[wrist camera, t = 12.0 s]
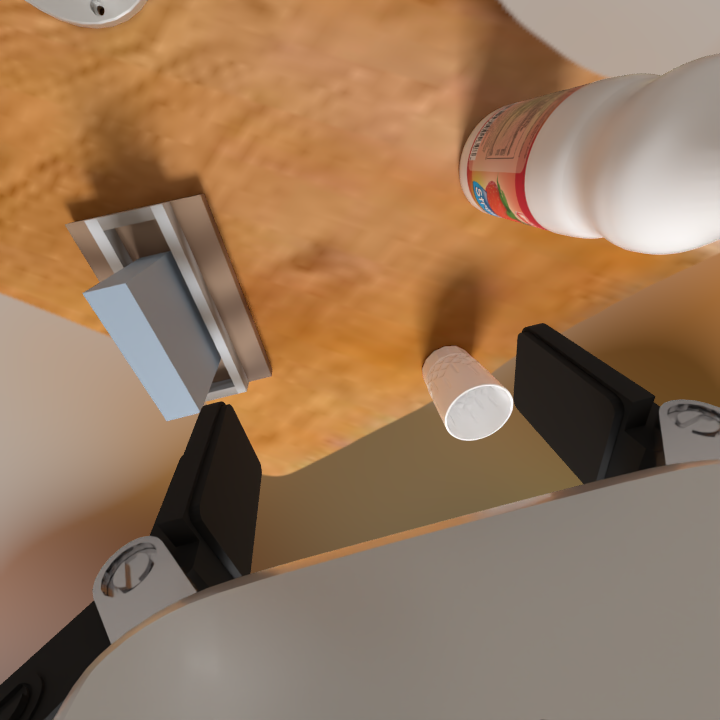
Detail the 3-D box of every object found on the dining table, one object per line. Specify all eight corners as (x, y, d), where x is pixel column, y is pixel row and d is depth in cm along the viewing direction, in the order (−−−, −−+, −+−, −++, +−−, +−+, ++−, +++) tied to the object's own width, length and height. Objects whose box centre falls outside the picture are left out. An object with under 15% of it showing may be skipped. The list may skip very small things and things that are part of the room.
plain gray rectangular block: (139, 258, 32) (82, 293, 24) (170, 250, 32) (125, 283, 24) (195, 363, 38) (166, 421, 30) (221, 356, 38) (200, 412, 30)
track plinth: (74, 221, 31) (50, 228, 28) (204, 193, 32) (194, 196, 29) (175, 393, 42) (166, 411, 39) (272, 369, 42) (270, 385, 39)
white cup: (414, 349, 44) (442, 394, 35) (473, 334, 44) (515, 376, 36) (420, 396, 48) (447, 447, 39) (473, 383, 48) (511, 430, 40)
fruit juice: (559, 112, 33) (1251, -14, 9) (526, 217, 38) (927, 316, 14) (470, 98, 31) (1034, -107, 7) (446, 209, 36) (746, 307, 12)
